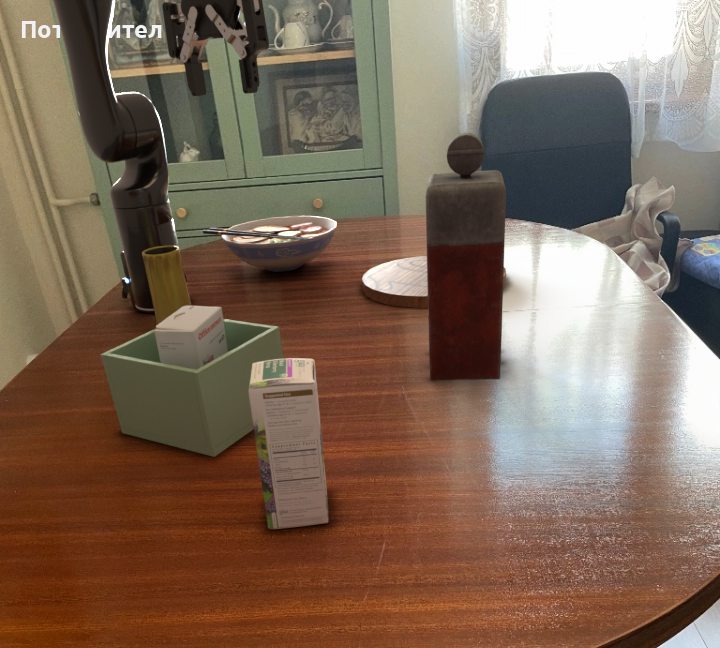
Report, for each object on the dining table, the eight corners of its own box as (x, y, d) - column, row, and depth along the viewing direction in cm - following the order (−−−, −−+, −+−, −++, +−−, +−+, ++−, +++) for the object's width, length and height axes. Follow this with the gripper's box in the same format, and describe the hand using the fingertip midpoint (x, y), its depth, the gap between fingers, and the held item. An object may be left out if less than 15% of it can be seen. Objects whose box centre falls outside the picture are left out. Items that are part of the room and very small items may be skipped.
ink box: (212, 427, 84) (192, 329, 78) (172, 426, 85) (149, 329, 79) (237, 395, 91) (221, 303, 85) (200, 394, 92) (182, 303, 86)
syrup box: (269, 498, 72) (247, 361, 64) (329, 491, 72) (313, 354, 64) (268, 531, 67) (244, 387, 59) (332, 524, 67) (316, 380, 60)
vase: (207, 338, 112) (189, 244, 105) (187, 353, 108) (167, 256, 100) (173, 336, 114) (153, 244, 107) (152, 351, 109) (129, 255, 102)
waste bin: (121, 433, 87) (100, 354, 81) (202, 386, 97) (187, 313, 92) (214, 457, 80) (197, 373, 75) (289, 403, 90) (279, 326, 85)
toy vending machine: (496, 345, 101) (502, 124, 87) (500, 378, 92) (507, 136, 77) (432, 347, 103) (428, 129, 88) (429, 379, 93) (424, 141, 79)
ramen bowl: (367, 256, 147) (364, 214, 142) (300, 289, 131) (294, 243, 127) (270, 247, 159) (265, 208, 155) (198, 277, 143) (190, 234, 139)
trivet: (473, 314, 113) (473, 302, 112) (336, 299, 124) (335, 288, 123) (526, 270, 131) (526, 259, 130) (402, 260, 142) (402, 251, 141)
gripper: (269, -70, 84) (286, 89, 92) (177, -54, 90) (201, 93, 99) (227, -74, 78) (250, 95, 87) (133, -57, 85) (163, 99, 93)
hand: (224, 94), depth 93 cm, fingers open, 8 cm apart
